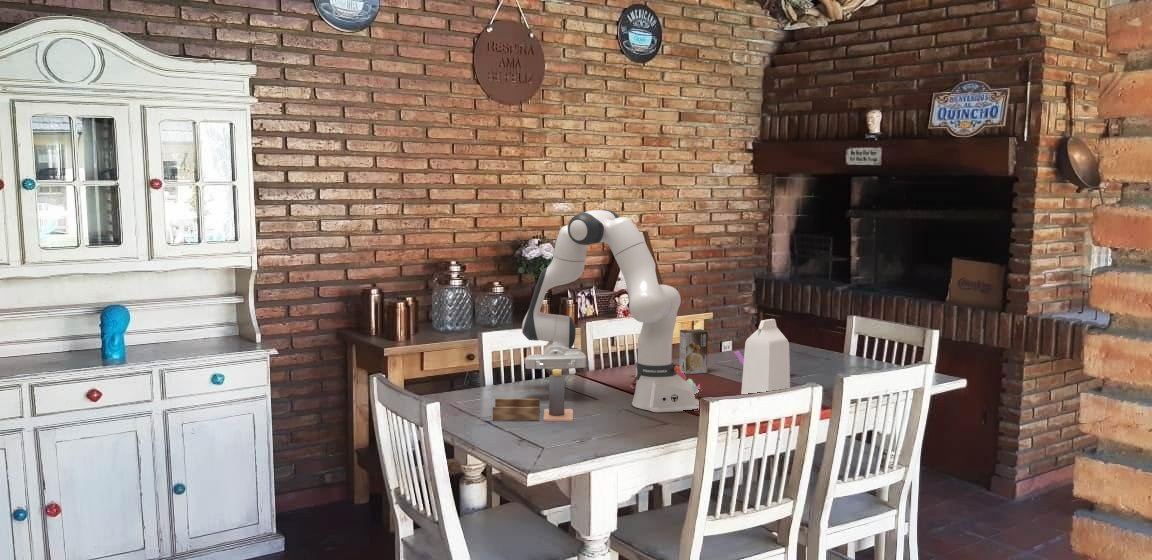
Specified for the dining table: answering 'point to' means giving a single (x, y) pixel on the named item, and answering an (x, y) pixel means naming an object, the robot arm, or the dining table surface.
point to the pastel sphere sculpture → (680, 376)
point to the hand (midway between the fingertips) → (555, 366)
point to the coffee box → (693, 351)
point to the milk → (766, 360)
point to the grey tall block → (556, 393)
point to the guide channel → (516, 409)
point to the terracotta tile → (566, 417)
